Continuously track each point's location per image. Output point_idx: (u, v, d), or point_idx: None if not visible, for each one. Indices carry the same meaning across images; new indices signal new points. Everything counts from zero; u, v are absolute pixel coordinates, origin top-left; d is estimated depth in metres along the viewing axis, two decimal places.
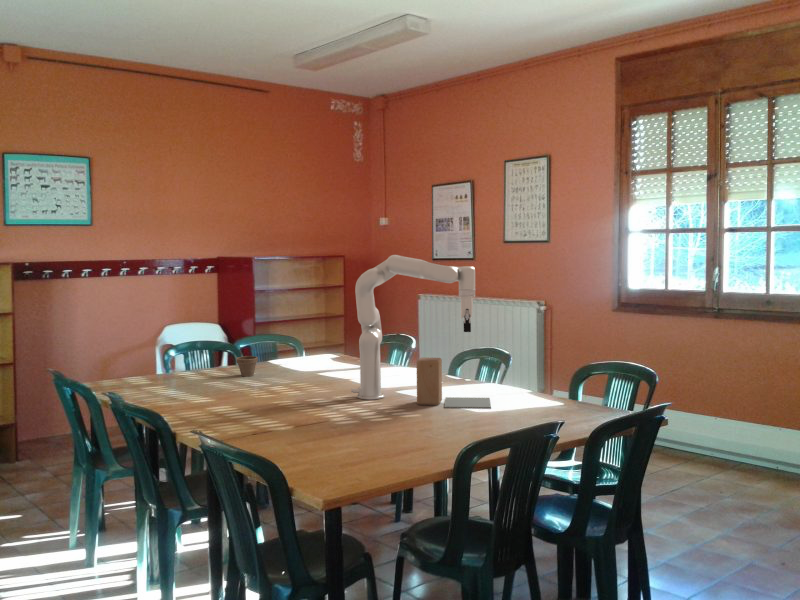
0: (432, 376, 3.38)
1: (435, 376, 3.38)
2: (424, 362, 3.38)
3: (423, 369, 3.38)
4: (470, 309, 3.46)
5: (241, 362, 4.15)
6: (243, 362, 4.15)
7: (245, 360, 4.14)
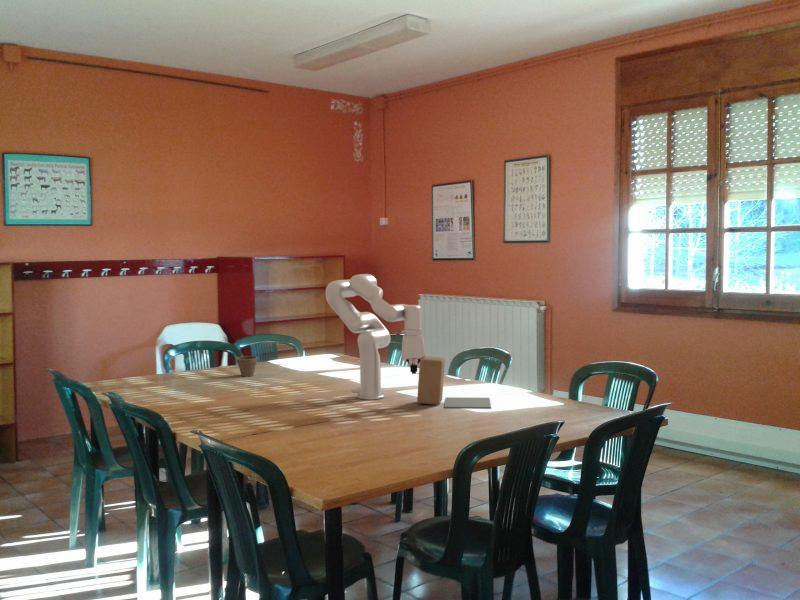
0: (434, 376, 3.38)
1: (437, 376, 3.37)
2: (427, 361, 3.38)
3: (426, 368, 3.38)
4: None
5: (241, 362, 4.15)
6: (243, 362, 4.15)
7: (245, 360, 4.14)
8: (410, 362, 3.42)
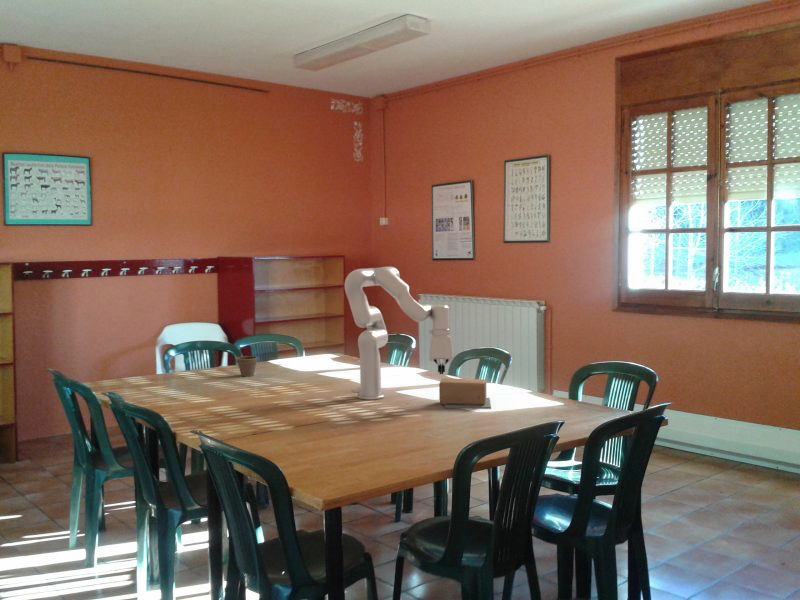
0: (468, 398, 3.35)
1: (468, 402, 3.36)
2: (482, 391, 3.34)
3: (476, 390, 3.35)
4: None
5: (241, 362, 4.15)
6: (243, 362, 4.15)
7: (245, 360, 4.14)
8: (438, 362, 3.41)
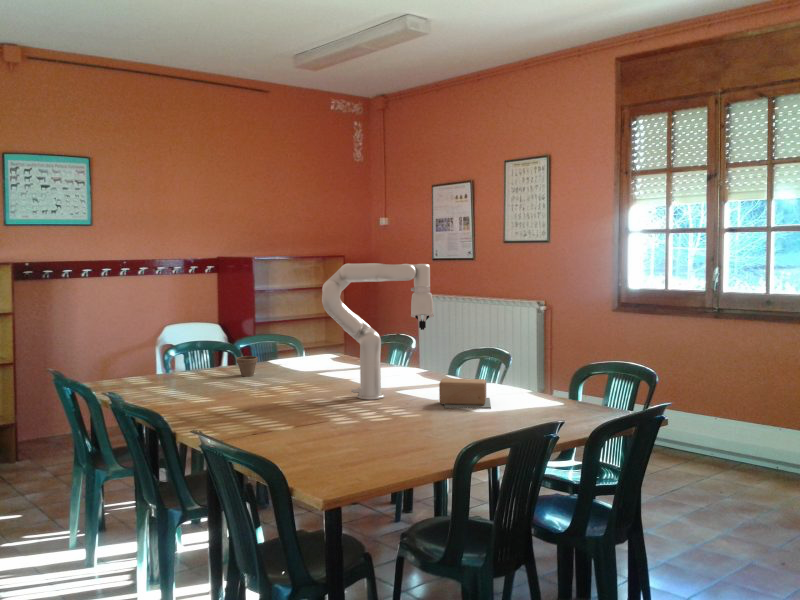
0: (468, 398, 3.35)
1: (468, 402, 3.36)
2: (482, 391, 3.34)
3: (476, 390, 3.35)
4: None
5: (241, 362, 4.15)
6: (243, 362, 4.15)
7: (245, 360, 4.14)
8: (419, 318, 3.58)
